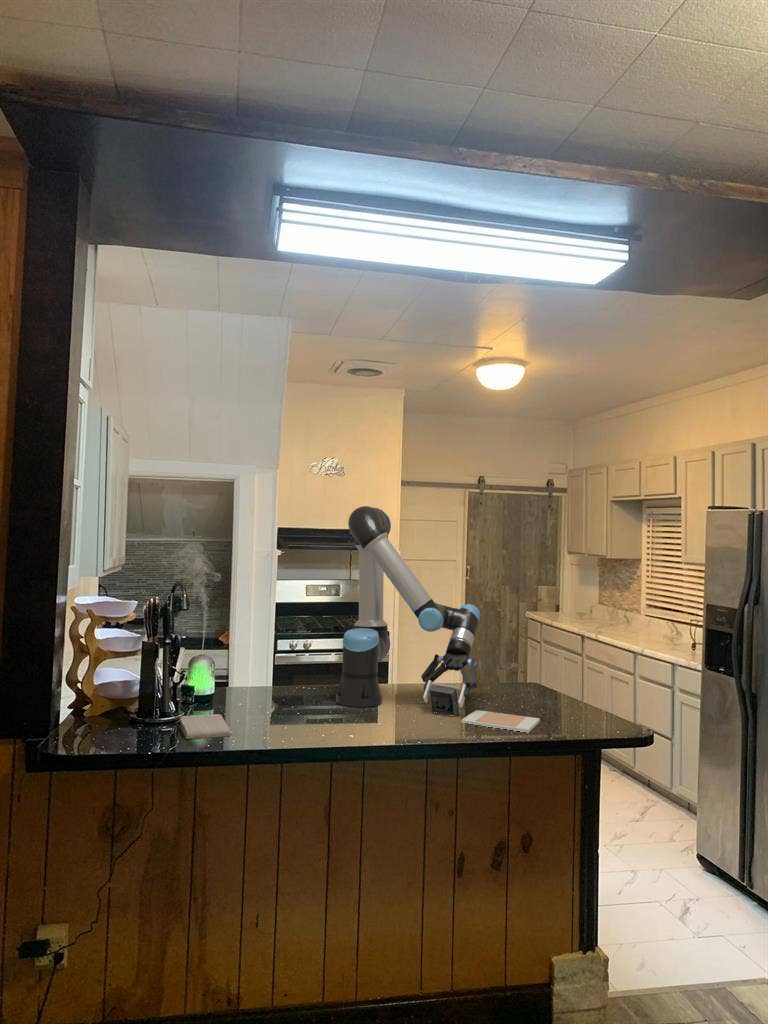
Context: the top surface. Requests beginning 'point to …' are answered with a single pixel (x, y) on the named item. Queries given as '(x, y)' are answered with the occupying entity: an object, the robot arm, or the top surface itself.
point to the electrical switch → (445, 699)
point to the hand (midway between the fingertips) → (442, 702)
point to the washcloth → (204, 726)
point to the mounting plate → (501, 721)
